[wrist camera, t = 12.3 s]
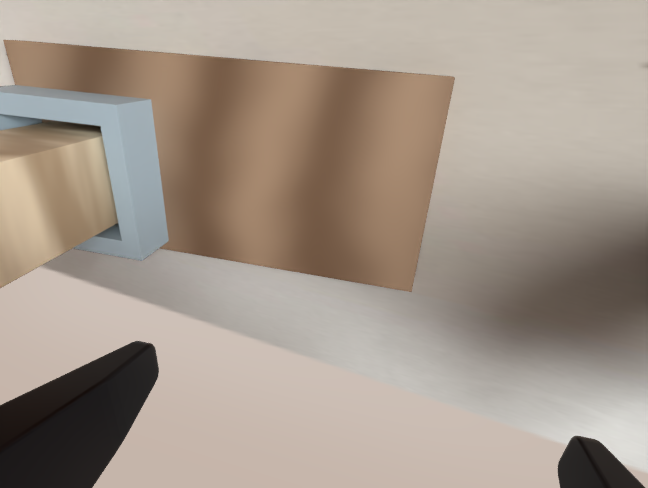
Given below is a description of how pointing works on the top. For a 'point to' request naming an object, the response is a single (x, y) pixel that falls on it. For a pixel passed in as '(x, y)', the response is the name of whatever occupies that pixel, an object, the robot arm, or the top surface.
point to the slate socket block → (122, 158)
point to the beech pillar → (50, 193)
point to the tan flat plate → (275, 154)
